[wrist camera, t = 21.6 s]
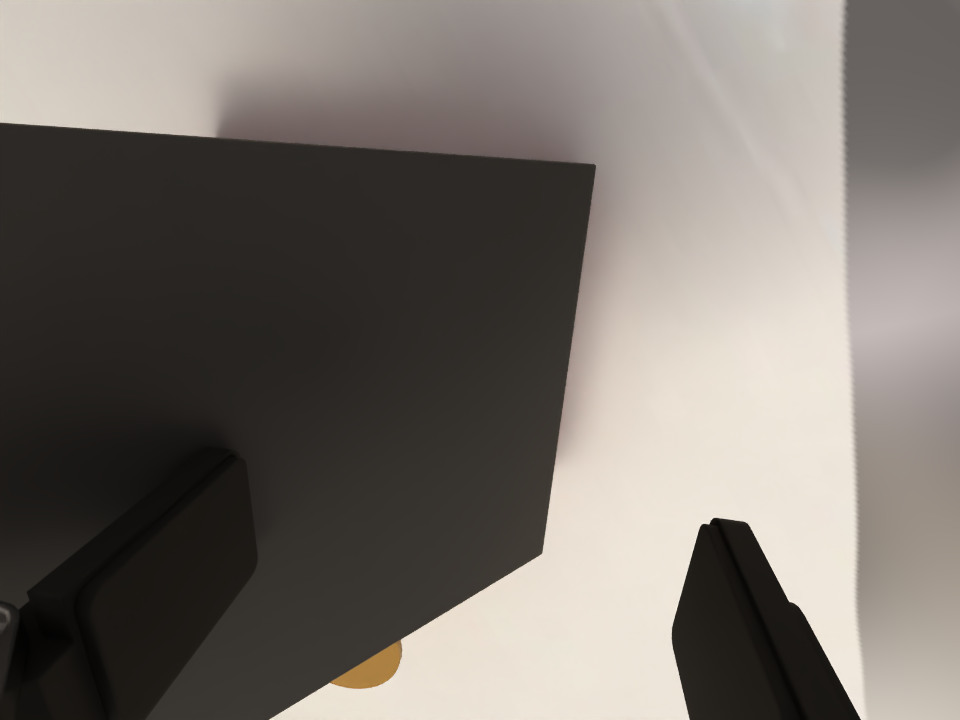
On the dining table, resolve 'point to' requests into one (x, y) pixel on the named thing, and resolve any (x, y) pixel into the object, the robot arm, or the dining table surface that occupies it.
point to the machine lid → (287, 375)
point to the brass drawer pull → (373, 669)
